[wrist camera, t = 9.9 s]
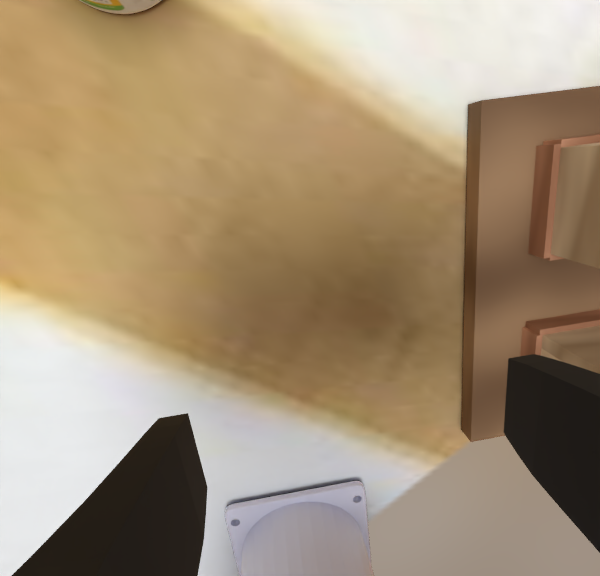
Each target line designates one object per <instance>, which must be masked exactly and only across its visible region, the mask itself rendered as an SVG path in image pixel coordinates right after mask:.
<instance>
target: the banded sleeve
mask: <svg viewBox="0 0 600 576" xmlns="http://www.w3.org/2000/svg"><path fill="white" fill-rule="evenodd" d="M528 254H532V255H534V256H537V257H540V258H543V259H546V260H549V261H552V260H558V259H568V260H572V261H575V262H578V263H582V264H585V265H588V266H592V267H595V268H598V269H600V134H594V135H586V136H579V137H571V138H564V139H556V140H549V141H543V145H539V146H536V158H535V171H534V184H533V197H532V210H531V223H530V236H529V249H528Z"/></svg>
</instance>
